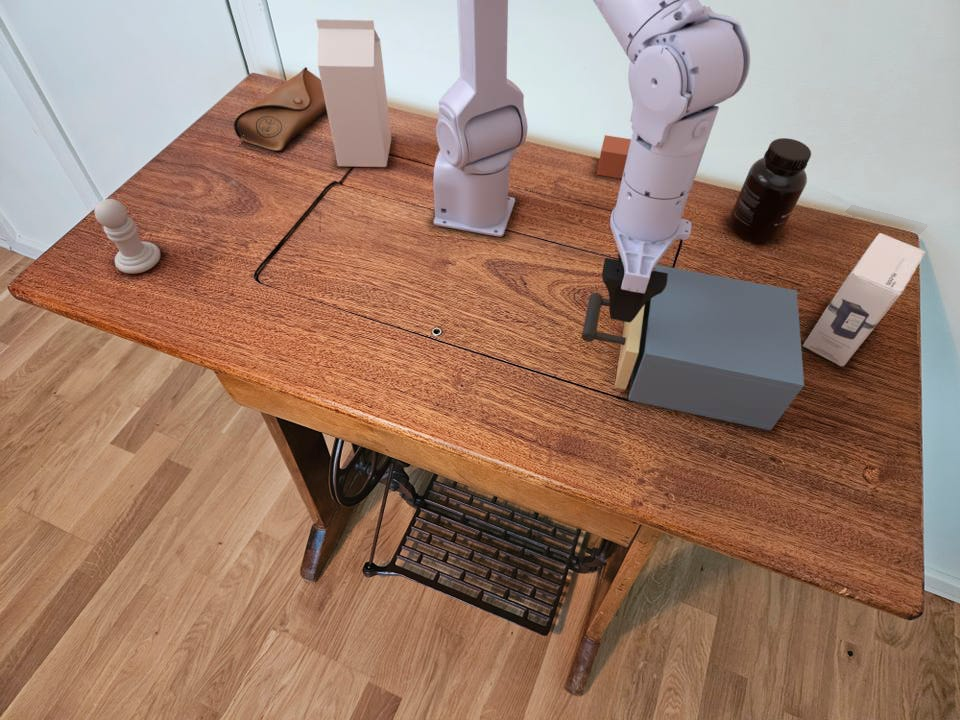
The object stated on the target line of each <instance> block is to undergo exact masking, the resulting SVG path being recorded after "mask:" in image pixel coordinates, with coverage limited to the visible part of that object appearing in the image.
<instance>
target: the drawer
mask: <svg viewBox="0 0 960 720" xmlns="http://www.w3.org/2000/svg"><path fill="white" fill-rule="evenodd" d="M587 303H588V304H587V308H586V313H585V318H584V323H583V327H582V333H581V339H582V340H583V342H587V343H592V342H594V341H595V340H597V341H601V342H607V343H612V344H615V345H620V349H619V356H618V363H617V367H616V368H617V370H616V376H615V383H614V389H620V390H625V391H626V390H627V388H628V385H629V382H630V380H631V377H632V371H633V368H634V365H635V362H636V359H637V356H638V354H639V347H640V339H641V331H642V323H643V316H644V308H645V305H644V306H643V307H642V308H641V310H640V311H639V313H638V314H637V315H636V317H635V318H634V319H633V320H632V321H631V322H625V321H623V322H624V323H623V331H622V336H619V335H615V334H611V333H604V332H600V331H597V330H598V324H599V319H600V314H601V309H602V306H605V307H608V308H609V298H605V297H603V295H602V294H601V293H598V292H593V293H591V294H589V299H588V302H587ZM648 319H649V316H648ZM647 327H648V321H647ZM646 335H647V329H646ZM645 343H646V337H645ZM644 351H645V345H644ZM643 355H644V354H643Z"/></svg>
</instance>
